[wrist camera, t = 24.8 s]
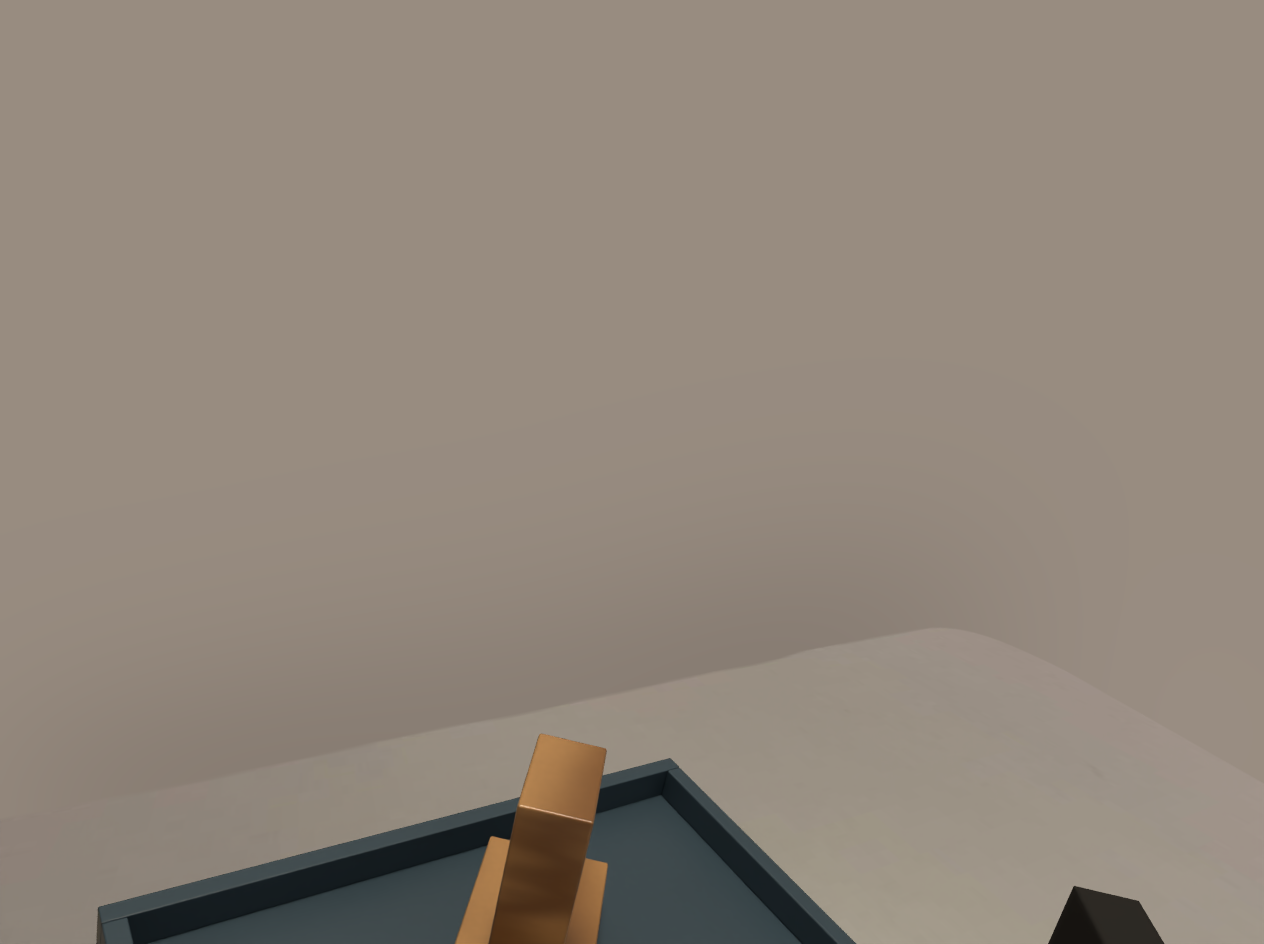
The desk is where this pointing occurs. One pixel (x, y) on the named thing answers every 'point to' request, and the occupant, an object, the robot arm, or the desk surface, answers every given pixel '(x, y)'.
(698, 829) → the tray
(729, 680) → the desk surface
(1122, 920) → the robot arm
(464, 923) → the wooden block on base
